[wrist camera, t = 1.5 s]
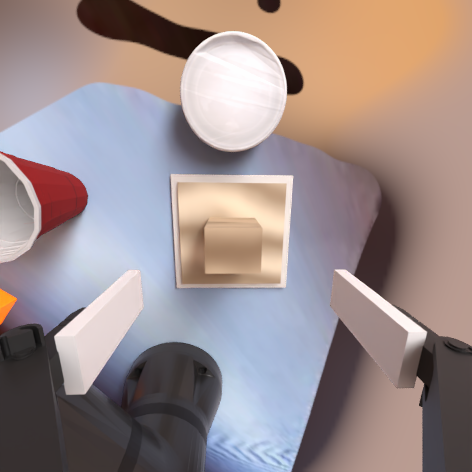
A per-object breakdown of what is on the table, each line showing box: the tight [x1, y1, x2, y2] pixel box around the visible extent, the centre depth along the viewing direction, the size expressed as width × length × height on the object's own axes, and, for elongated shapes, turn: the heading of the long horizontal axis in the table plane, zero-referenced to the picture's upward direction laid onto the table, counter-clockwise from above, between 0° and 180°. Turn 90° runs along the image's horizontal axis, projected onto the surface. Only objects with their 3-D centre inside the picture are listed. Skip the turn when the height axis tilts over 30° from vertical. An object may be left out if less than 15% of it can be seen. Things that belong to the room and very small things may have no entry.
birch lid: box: [177, 182, 287, 284], centre depth 28 cm, size 14×14×8 cm
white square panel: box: [171, 174, 293, 288], centre depth 32 cm, size 16×16×1 cm
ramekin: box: [180, 31, 287, 152], centre depth 26 cm, size 11×11×5 cm
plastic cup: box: [0, 151, 88, 263], centre depth 24 cm, size 11×11×12 cm
